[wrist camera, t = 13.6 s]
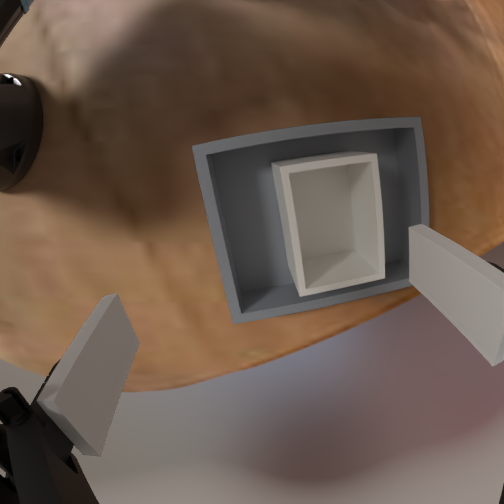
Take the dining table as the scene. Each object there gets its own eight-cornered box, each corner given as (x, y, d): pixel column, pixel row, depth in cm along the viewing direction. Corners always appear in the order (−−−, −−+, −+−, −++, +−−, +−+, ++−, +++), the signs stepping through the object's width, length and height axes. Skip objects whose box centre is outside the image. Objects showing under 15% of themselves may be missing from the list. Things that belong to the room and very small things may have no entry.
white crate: (270, 162, 29) (279, 166, 23) (348, 150, 29) (376, 153, 22) (288, 266, 33) (299, 296, 26) (358, 252, 33) (385, 278, 26)
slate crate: (200, 145, 29) (191, 145, 24) (394, 119, 29) (420, 116, 24) (234, 298, 35) (233, 324, 30) (405, 262, 34) (427, 281, 29)
